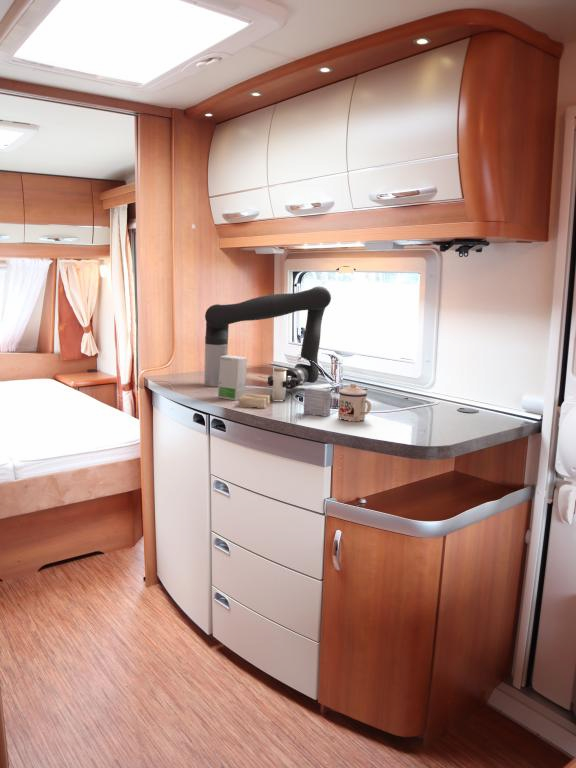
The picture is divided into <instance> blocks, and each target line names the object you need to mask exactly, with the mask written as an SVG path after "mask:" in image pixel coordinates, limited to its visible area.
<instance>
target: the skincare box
mask: <svg viewBox="0 0 576 768" xmlns="http://www.w3.org/2000/svg"><path fill="white" fill-rule="evenodd" d="M247 365H248V357H244V356H239V355H233V354H232V355H231V354H227V355H226V356H220V370H219V387H217V388H218V390H217V398H219V399H226V400H231V401H235V400H236V401H239V398H240V397H241V396H243V395H245V394H246V384H247V381H246V380H247Z"/></svg>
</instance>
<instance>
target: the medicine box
mask: <svg viewBox="0 0 576 768" xmlns="http://www.w3.org/2000/svg"><path fill="white" fill-rule="evenodd" d="M331 394H332V390H331V389H330V388H322V387H314V386H310V387H306V388H304V398H303V399H304V400H303V401H304V402H303V414H304V413H306V415H311V414H315V415H314V416H317V415H323V416H322V417H326V416H325V415H327V416H329V415H328V414H330V415H331V400H332V399H331V397H332V395H331Z"/></svg>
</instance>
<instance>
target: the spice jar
mask: <svg viewBox="0 0 576 768" xmlns="http://www.w3.org/2000/svg"><path fill="white" fill-rule="evenodd" d="M286 370H287V368H286V367H282V366H281V367H279V366H278V367H274V368H273V371H272V376H273V385H272V391H271V392H272V395H271V398H272V399H273V400H285V401H286V387H283V381H285V380H286ZM273 400H272V401H273Z"/></svg>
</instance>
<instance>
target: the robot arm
mask: <svg viewBox="0 0 576 768" xmlns="http://www.w3.org/2000/svg"><path fill="white" fill-rule="evenodd" d="M331 300H332V294H331V293H330V291H329V289H327V288H326V287H324V286H320V285H319V286H314V287H312V288H310V289H306V290H303V291H299V292H293V293H292V292H291V293H290V292H289V293H274V294H268V295H264V296H258V297H254V298H251V299H248V300H245V301H241V302H237V303H232V304H229V303H227V304H219V303H218V304H213V305H210V306H209V307H208V308H207V309H206V311H205V314H204V319H205V321H206V322H205V336H204V378H203V379H204V381H203V384H204V386H206V387H211V388H213V387H214V388H218V387H219V370H220V356H226V355H228V353H229V352H228V350H229V349H228V347H229V346H228V344H229V325H230V324H231V325H232V324H235V323H239V322H248V321H260V320H266V319H272V318H278V317H281V316H282V317H283V316H286V315H288V314H289V315H290V314H292V313H295V312H296V313H297V312H300V311H307V314H306V315H307V316H306V323H305V328H304V333H303V338H302V344H301V351H300V357H301V358H303V359H304V360H307V361H308V362H309V364H305V363H297V364H295V366H294V367H292V368H287V369H286V380H285V381H283V387H286V389H287V390H291V389H295V388H296V387H297V388H298V387H300V386H303V384H304V383H309V384H313V383H316V382H317V381H318V379H319V373H320V372H319V367H318V368H317V367H316V366H315V365H314V364H313V363H312V361H314V362H315V363H317V364H318V363H319V362H318V361H319V360H318V354H319V349H320V342H321V333H322V330H321V329H322V321H323V316H324V314H325V313H324V312H325V310H326V308H327V307H328V306H329V304H330V303H331ZM310 360H311V361H310ZM318 365H319V364H318ZM267 385H268V386H269V387H273V374H271V375H269V376H267Z"/></svg>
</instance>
